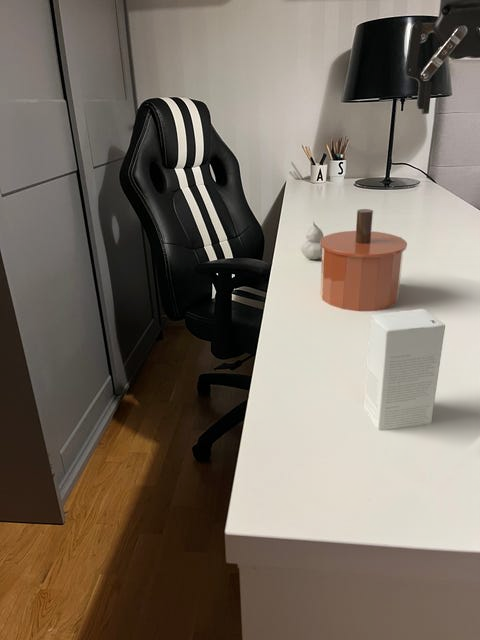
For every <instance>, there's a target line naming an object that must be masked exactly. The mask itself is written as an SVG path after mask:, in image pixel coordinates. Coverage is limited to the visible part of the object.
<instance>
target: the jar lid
mask: <svg viewBox="0 0 480 640" xmlns="http://www.w3.org/2000/svg"><path fill="white" fill-rule="evenodd" d="M373 216H374V210H373V209H369V208H361V209H357V212H356V225H355V230H349V231H348V230H347V231H346V230H345V231H338V232H334V233H330V234H327V235H324V237H323V238H322V239H321V240H320V245H321V247H322V248H323V249H325V250H327V251H329V252H332V253H335V254H339V255H344V256H351V257H385V256H391V255H395V254H398V253H401V252H403V253H404V251H406V249H407V248H408V242H407V241H406V240H405V239H404V238H402V237H401V236H397V235H395V234H391V233H387V232H380V231H373V218H374V217H373Z"/></svg>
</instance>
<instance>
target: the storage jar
mask: <svg viewBox="0 0 480 640" xmlns="http://www.w3.org/2000/svg"><path fill="white" fill-rule="evenodd" d="M403 258H404V251H403V252H401V253H398V254H395V255H391V256H385V257H351V256H344V255H339V254H335V253H332V252H329V251H327V250H325V249H323V248H322V257H321V265H320V266H321V267H320V270H321V271H320V291H319V292H320V293H319V295H320V297H321V300H322V301H324V303H326V304H328V305H329V306H332V307H335V308H338V309H340V310H341V309H342V310H346V311H353V312H354V311H355V312H376V311H382V310H386V309H389V308H391V307H393V306H395V305H396V304H397V303H398V300H399V294H400V287H401V285H400V284H401V277H402V267H403Z"/></svg>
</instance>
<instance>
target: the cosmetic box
mask: <svg viewBox="0 0 480 640" xmlns="http://www.w3.org/2000/svg"><path fill="white" fill-rule="evenodd" d="M368 331H369V332H368V344H367V358H366V359H367V361H366V374H365V390H364V401H363V402H364V403H363V410H364V412H365V413H366V414H367V416H368V417H369V419H370V420H371V422H372V423H373V425H374V426H375V428H376V429H377V430H378V431H386V430H394V429H401V428H408V427H409V428H410V427H416V426H422V425H430V424H432V421H433V414H434V413H433V412H434V406H435V400H436V393H437V386H438V385H437V384H438V379H439V372H440V365H441V358H442V351H443V343H444V338H445V331H446V324H445V323H443V322H442V321H441V320H440V319H438V318H437V317H436V316H435V315H433V314H432V313H430V312H429V311H428V310H427V309H425V308H418V309H411V310H410V309H409V310H401V311H391V312H383V313H373V314H370V316H369V330H368Z"/></svg>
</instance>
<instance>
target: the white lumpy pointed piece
mask: <svg viewBox="0 0 480 640" xmlns="http://www.w3.org/2000/svg"><path fill="white" fill-rule="evenodd" d="M304 236H305V238H306V241H305V242H304V243H302V244H301V246H300V249H301V250H300V251H301V254H302V255H303V256H304V257H305V258H306V259H309V260H319V259H322V247H321V245H320V240H321V239H322V238H323V237H325V235H324V233H323V231H322V229H321V228H319V226H317V225H316V223H315V221H312V226H311V227H309V229H308V232H306V233H305V234H304Z"/></svg>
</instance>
